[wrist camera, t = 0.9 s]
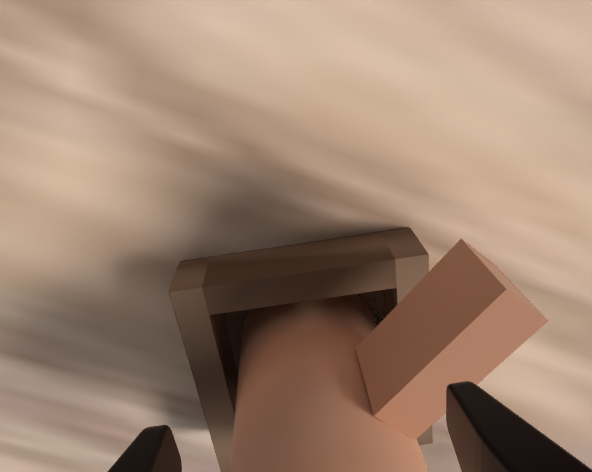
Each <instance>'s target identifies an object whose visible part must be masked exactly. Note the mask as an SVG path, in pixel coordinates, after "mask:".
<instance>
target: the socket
mask: <svg viewBox="0 0 592 472" xmlns="http://www.w3.org/2000/svg"><path fill="white" fill-rule="evenodd" d="M428 273H429V254H428V253H427V251H426V250H425V249H424V247H423V246H422V244H421V243H420V241H419V240H418V238H417V237H416V236H415V234H414V233H413V231H412V230H411V228H405V229H398V230H391V231H385V232H378V233H371V234H364V235H357V236H351V237H344V238H337V239H330V240H323V241H317V242H310V243H303V244H296V245H289V246H283V247H276V248H269V249H262V250H255V251H248V252H242V253H235V254H228V255H221V256H214V257H208V258H201V259H194V260H187V261H180V264H179V266H178V269H177V272H176V274H175V277H174V280H173V282H172V285H171V288H170V291H169V295H170V298H171V301H172V305H173V308H174V312H175V315H176V319H177V322H178V325H179V329H180V332H181V336H182V339H183V343H184V346H185V350H186V353H187V356H188V360H189V363H190V367H191V370H192V374H193V377H194V380H195V384H196V387H197V391H198V394H199V398H200V401H201V405H202V408H203V411H204V415H205V418H206V422H207V425H208V429H209V432H210V435H211V439H212V442H213V446H214V449H215V453H216V456H217V460H218V463H219V466H220V470H221V472H230V467H231V455H232V443H233V432H234V420H235V409H236V397H237V385H238V374H237V370H236V366H235V361H234V357H233V353H232V349H231V345H230V341H229V336H228V332H227V328H226V324H225V320H224V316H223V313H228V312H235V311H241V310H248V309H255V308H262V307H269V306H276V305H283V304H289V303H296V302H303V301H310V300H317V299H324V298H330V297H337V296H344V295H351V294H358V293H365V292H372V291H378V290H385V303H386V316H387V315H388V314H389V313H390V312H391V311H392V310H393V309H394V308H395V307H396V306H397V305H398V304H399V303H400V302H401V301H402V300H403V299H404V298H405V297H406V296H407V294H408V293H409V292H410V291H411V290H412V289H413V288H414V287H415V286H416V285H417V284H418V283H419V282H420V281H421V280H422V279H423V278H424V277H425V276H426V275H427V274H428ZM417 441H418V444H419V445H423V444H430V443H433V440H432V425H431V426H430V427H429V428H428V429H427V430H426V431H425V432H424V433H422V434H421V435H420V436H419V437H418V438H417Z"/></svg>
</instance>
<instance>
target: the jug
mask: <svg viewBox="0 0 592 472" xmlns="http://www.w3.org/2000/svg"><path fill="white" fill-rule="evenodd" d="M547 321H548V320H547V319H546V318H545V317H544V316H543V314H542V313H541V312H540V311H539V310H538V309H537V308H536V307H535V306H534V305H533V304H532V303H531V302H530V301H529V300H528V298H527V297H526V296H525V295H524V294H523V293H522V292H521V291H520V290H519V289H518V288H517V287H516V286H515V285H514V284H513V283H512V281H511V280H510V279H509V278H508V277H507V276H506V275H505V274H504V273H503V272H502V271H501V270H500V269H499V268H498V267H497V266H496V265H495V264H494V263H493V262H491V261H490V260H489V259H487V258H486V257H485V256H483V255H482V254H481V253H479V252H478V251H477V250H476V249H474V248H473V247H472V246H470V245H469V244H468V243H466V242H465V241H464V240H463V239H460V240H459V241H458V242H457V243H456V245H455V246H454V247H453V248H452V249H451V250H450V251H449V252H448V253H447V254H446V255H445V256H444V257H443V258H442V259H441V260H440V261H439V262H438V263H437V264H436V265H435V266H434V267H433V268H432V269H431V271H430V272H429V273H428V274H427V275H426V276H425V277H424V278H423V279H422V280H421V281H420V282H419V283H418V284H417V285H416V286H415V287H414V288H413V289H412V290H411V291H410V292H409V293H408V294H407V296H406V297H405V298H404V299H403V300H402V301H401V302H400V303H399V304H398V305H397V306H396V307H395V308H394V309H393V310H392V311H391V312H390V313H389V314H388V315H387V316H386V317H385V318H384V319H383V320H382V322H381V323H380V324H379V325H378V326H376V323H375V320H374V318H373V315H372V313H371V311H370V309H369V307H368V306H367V304H366V303H365V302H364V301H363V300H362V299H361V298H360V297H359V296H358V295H357V294H351V295H344V296H337V297H330V298H324V299H317V300H310V301H303V302H296V303H289V304H283V305H276V306H269V307H262V308H255V309H251V310H250V312H249V314H248V315H247V317H246V319H245V322H244V325H243V330H242V339H241V350H240V362H239V374H238V385H237V397H236V409H235V420H234V432H233V443H232V455H231V467H230V472H428V469H427V467H426V464H425V461H424V458H423V455H422V452H421V450H420V447H419V444H418V441H417V438H418V437H419V436H420V435H421V434H422V433H424V432H425V431H426V430H427V429H428V428H429V427H430V426H431V425H432V424H434V423H435V422H436V421H437V420H438V419H439V418H440V417H441V416H443V415H444V414H445V413H446V389H447V386H448V385H449V384H451V383H458V382H465V381H470V382H473V383H474V384H476V385H477V384H478V383H479V382H480V381H482V380H483V379H484V378H485V377H486V376H487V375H488V374H489V373H490V372H492V371H493V370H494V369H495V368H496V367H497V366H498V365H499V364H500V363H502V362H503V361H504V360H505V359H506V358H507V357H508V356H509V355H510V354H512V353H513V352H514V351H515V350H516V349H517V348H518V347H519V346H521V345H522V344H523V343H524V342H525V341H526V340H527V339H528V338H529V337H531V336H532V335H533V334H534V333H535V332H536V331H537V330H538V329H539V328H541V327H542V326H543V325H544V324H545V323H546V322H547Z"/></svg>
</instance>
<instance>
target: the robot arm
mask: <svg viewBox="0 0 592 472" xmlns="http://www.w3.org/2000/svg"><path fill="white" fill-rule="evenodd" d="M446 421H447V427H448V431H449V434H450V437H451V440H452V443H453V446H454V449H455V452H456V455H457V458H458V461H459V464H460V467H461V470H462V472H592V469H590V468H589V467H588V466H586V465H585V464H584V463H582V462H581V461H579V460H578V459H577V458H575V457H574V456H573V455H571V454H570V453H569V452H567V451H566V450H564V449H563V448H562V447H560V446H559V445H558V444H556V443H555V442H554V441H552V440H551V439H549V438H548V437H547V436H545V435H544V434H543V433H541V432H540V431H539V430H537V429H536V428H534V427H533V426H532V425H530V424H529V423H528V422H526V421H525V420H524V419H522V418H521V417H519V416H518V415H517V414H515V413H514V412H513V411H511V410H510V409H509V408H507V407H506V406H504V405H503V404H502V403H500V402H499V401H498V400H496V399H495V398H494V397H492V396H491V395H489V394H488V393H487V392H485V391H484V390H483V389H481V388H480V387H479V386H477V385H476V384H474V383H473V382H470V381H465V382H458V383H451V384H449V385H448V386H447V389H446ZM108 472H182V465H181V458H180V454H179V451H178V448H177V445H176V443H175V440H174V437H173V434H172V431H171V429H170V427H169V426H167V425H160V426H154V427H148V428H145V429H144V430H143V431H142V432H141V433H140V434H139V435H138V436H137V437H136V439H135V440H134V441H133V442H132V443H131V445H130V446H129V447H128V448H127V449H126V450H125V452H124V453H123V454H122V455H121V456H120V458H119V459H118V460H117V461H116V462H115V464H114V465H113V466H112V467H111V468H110V469H109V471H108Z"/></svg>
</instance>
